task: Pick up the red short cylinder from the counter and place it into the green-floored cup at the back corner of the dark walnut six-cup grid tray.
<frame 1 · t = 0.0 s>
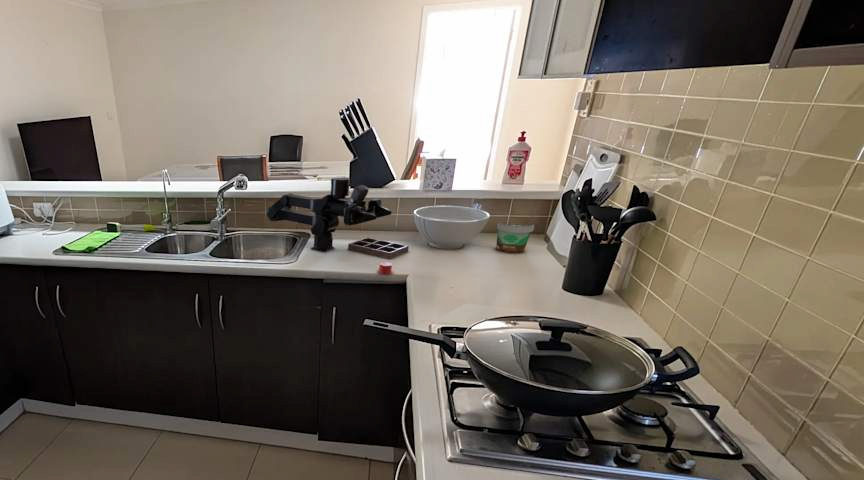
hand: (383, 215, 170), 17 cm above the worktop, tool horizontal, fingers open, 9 cm apart
grid: (377, 250, 190), on the worktop
food container: (510, 252, 184), on the worktop
decorative bowl: (445, 245, 195), on the worktop
red short cylinder: (384, 272, 168), on the worktop
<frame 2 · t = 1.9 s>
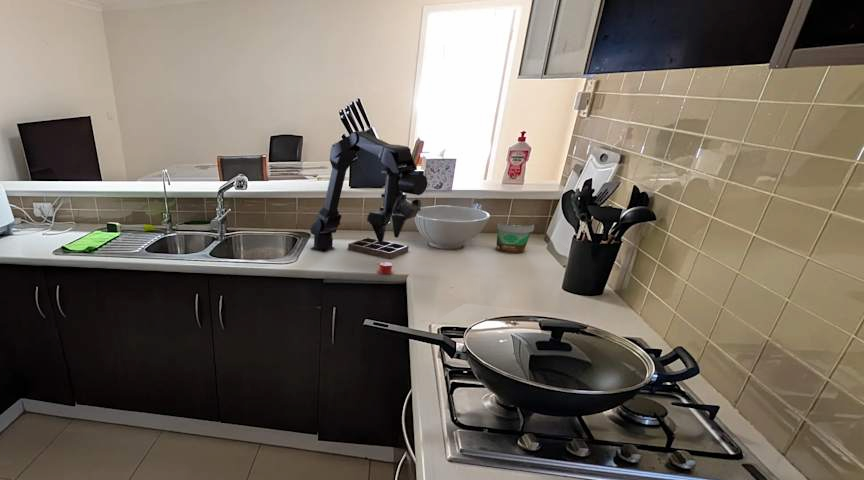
hand: (388, 240, 163), 11 cm above the worktop, tool pointing down, fingers open, 9 cm apart
nothing on the worktop moved.
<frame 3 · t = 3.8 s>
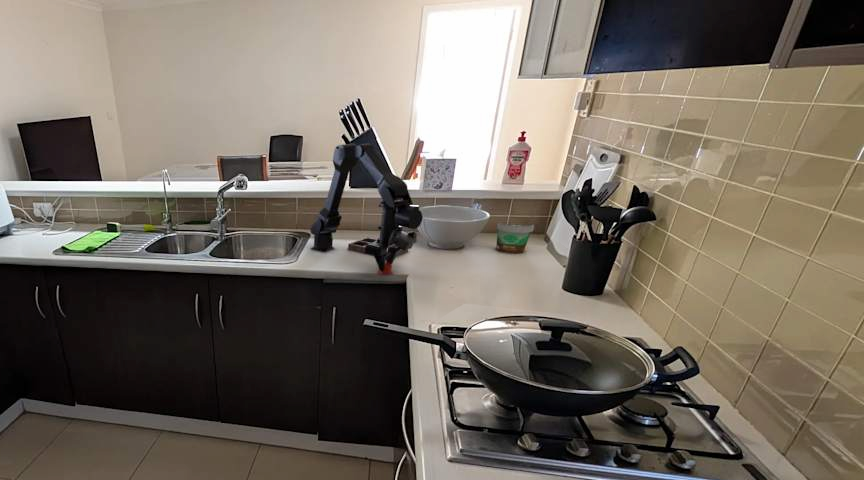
hand: (385, 269, 168), 1 cm above the worktop, tool pointing down, fingers closed on red short cylinder, 4 cm apart
red short cylinder: (384, 272, 168), on the worktop, touching gripper
everything else where it was.
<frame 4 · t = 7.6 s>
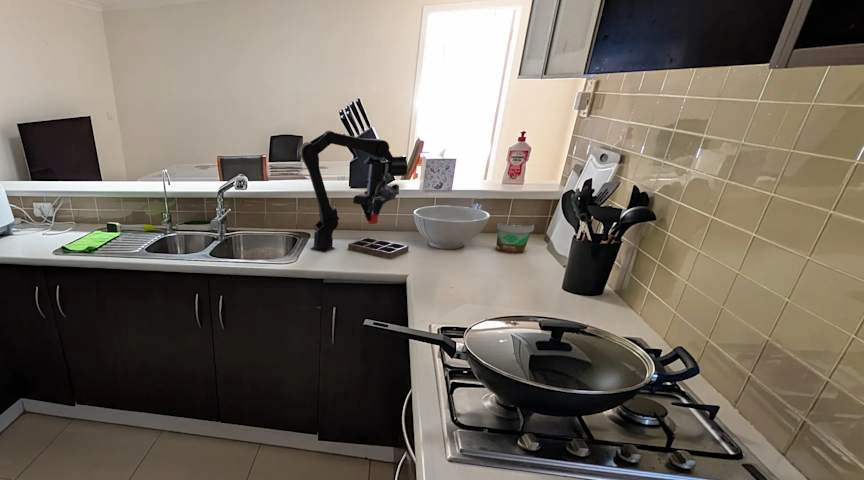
hand: (372, 220, 190), 10 cm above the worktop, tool pointing down, fingers closed on red short cylinder, 4 cm apart
red short cylinder: (372, 222, 190), point 9 cm above the worktop, touching gripper
everything else where it was.
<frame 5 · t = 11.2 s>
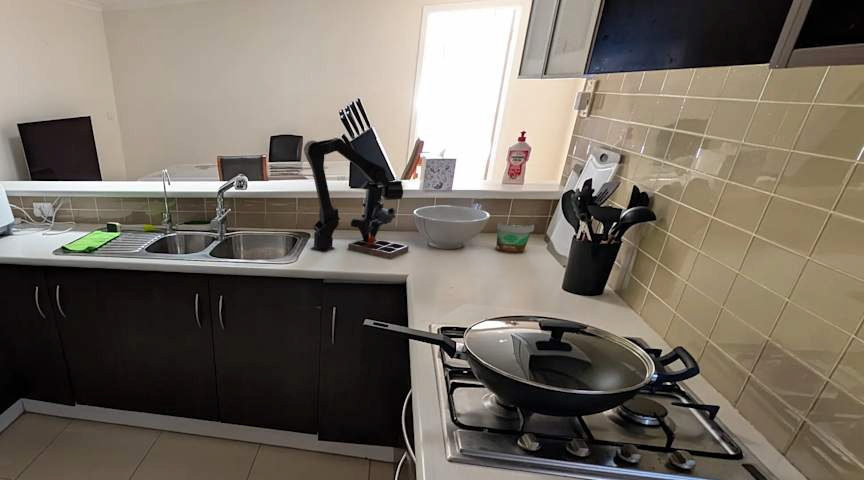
hand: (369, 241, 195), 2 cm above the worktop, tool pointing down, fingers closed on red short cylinder, 4 cm apart
red short cylinder: (369, 244, 195), point 1 cm above the worktop, touching gripper
everything else where it was.
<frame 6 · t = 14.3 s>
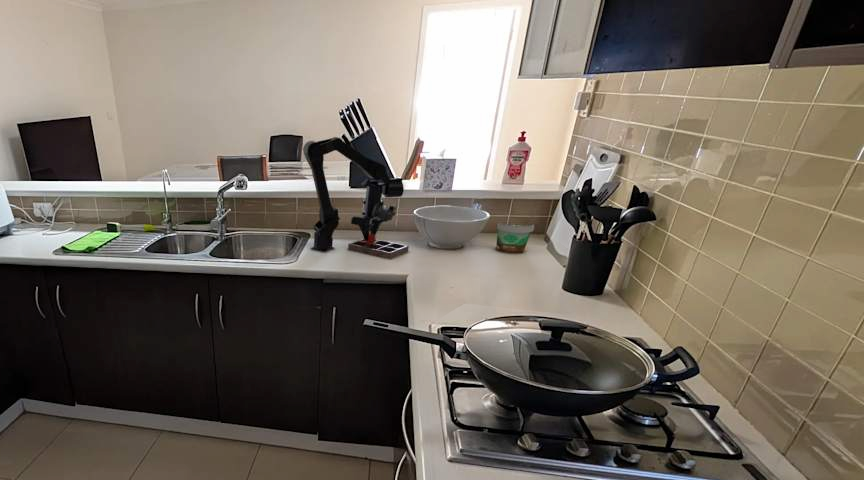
hand: (369, 239, 195), 3 cm above the worktop, tool pointing down, fingers closed on red short cylinder, 4 cm apart
red short cylinder: (369, 242, 195), point 2 cm above the worktop, touching gripper
everything else where it was.
when the fingers open (3 cm above the worktop, at t = 17.1 s): red short cylinder drops 2 cm, resting on grid.
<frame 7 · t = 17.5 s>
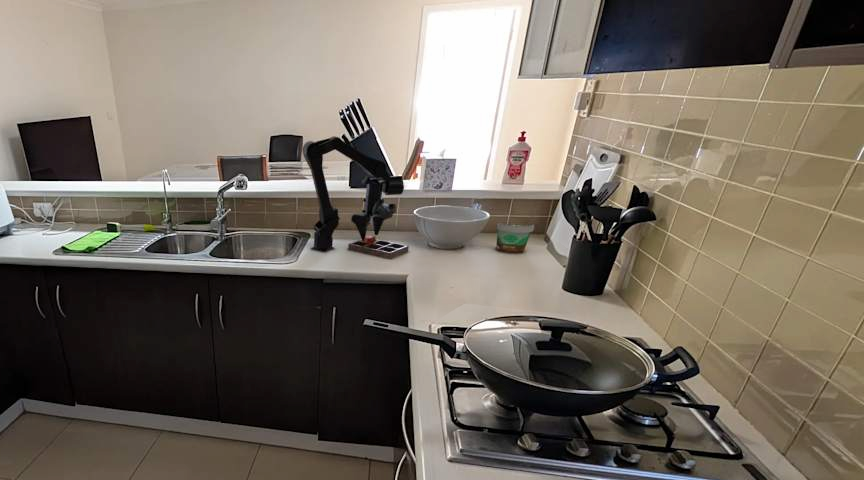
hand: (369, 237, 194), 3 cm above the worktop, tool pointing down, fingers open, 8 cm apart
red short cylinder: (369, 244, 195), point 1 cm above the worktop, touching grid
everything else where it was.
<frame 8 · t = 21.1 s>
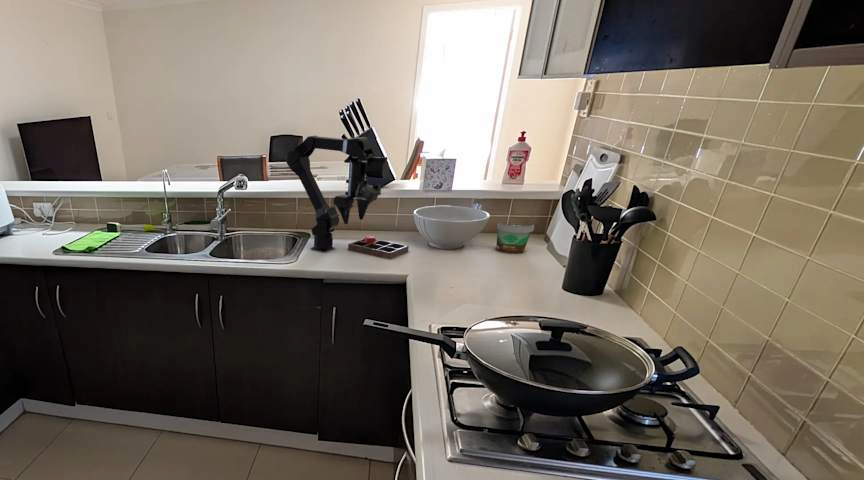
hand: (353, 221, 182), 12 cm above the worktop, tool pointing down, fingers open, 9 cm apart
nothing on the worktop moved.
at the end: red short cylinder 0.1 cm from the target spot in the grid, point 0.7 cm above the grid's base; red short cylinder tilted 0°; the gripper is holding nothing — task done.
